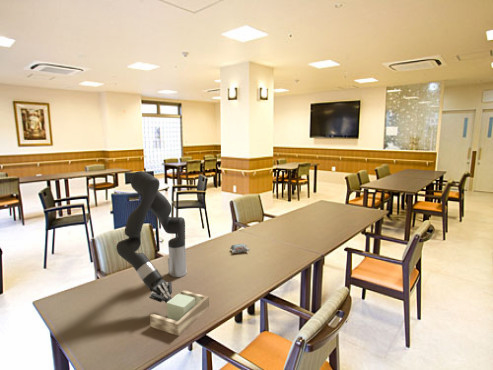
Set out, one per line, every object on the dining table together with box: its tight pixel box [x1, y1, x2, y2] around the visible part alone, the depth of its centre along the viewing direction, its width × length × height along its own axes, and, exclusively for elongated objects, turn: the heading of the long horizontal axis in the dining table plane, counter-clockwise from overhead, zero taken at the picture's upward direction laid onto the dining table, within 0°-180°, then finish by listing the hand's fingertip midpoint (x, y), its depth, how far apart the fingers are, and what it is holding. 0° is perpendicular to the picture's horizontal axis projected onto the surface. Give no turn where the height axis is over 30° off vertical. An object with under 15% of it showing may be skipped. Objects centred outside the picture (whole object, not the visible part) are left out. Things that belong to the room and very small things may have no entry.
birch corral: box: [149, 289, 210, 337], centre depth 128 cm, size 14×22×5 cm, turn 155°
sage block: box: [166, 293, 196, 321], centre depth 127 cm, size 9×8×8 cm
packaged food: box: [229, 243, 250, 254], centre depth 198 cm, size 9×12×5 cm
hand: (172, 305), depth 129 cm, fingers closed
